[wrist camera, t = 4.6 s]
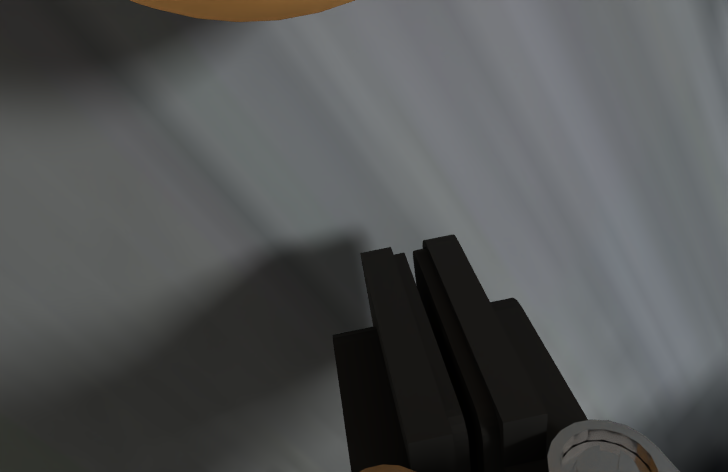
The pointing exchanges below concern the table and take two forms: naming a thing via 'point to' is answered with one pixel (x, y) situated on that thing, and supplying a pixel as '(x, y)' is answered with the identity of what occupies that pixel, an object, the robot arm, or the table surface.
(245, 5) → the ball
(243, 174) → the table surface
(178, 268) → the table surface
